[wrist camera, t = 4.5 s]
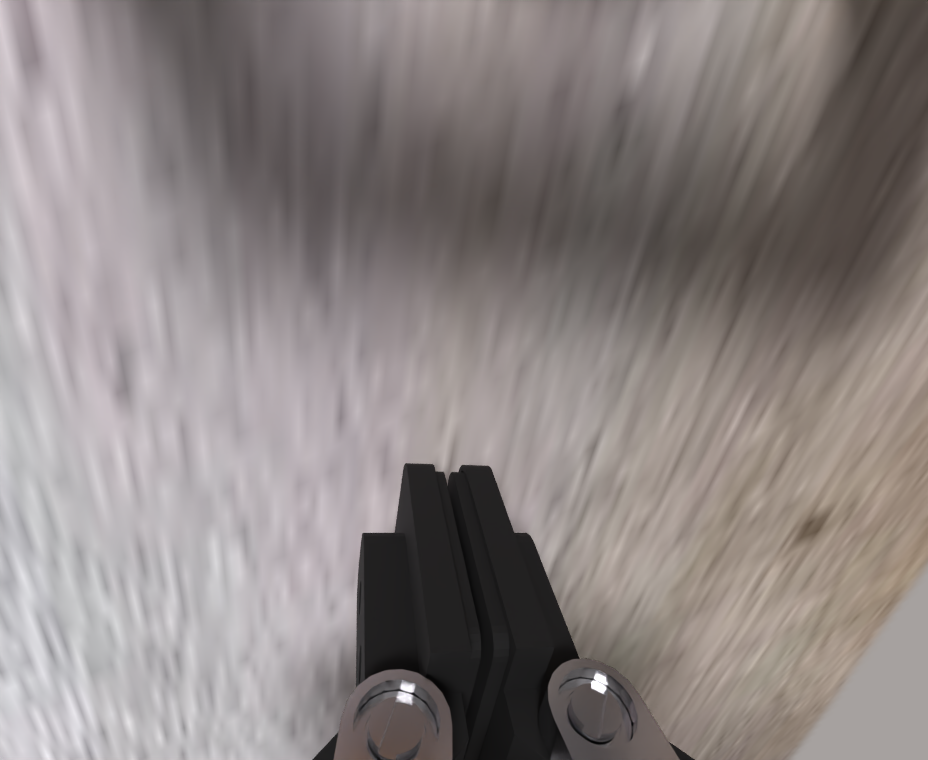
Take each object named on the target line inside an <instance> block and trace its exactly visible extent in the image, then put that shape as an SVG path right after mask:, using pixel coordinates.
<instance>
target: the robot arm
mask: <svg viewBox="0 0 928 760" xmlns="http://www.w3.org/2000/svg"><path fill="white" fill-rule="evenodd" d="M313 760H694V759H693V758H691V757H690V756H688V755H687V754H686V753H684V752H683V751H681V750H680V749H678V748H677V747H676V746H674V745H673V744H671V743H670V742H668V740H667V738H666V737H665V735H664V734H663V732H662V730H661V729H660V727H659V725H658V724H657V722H656V721H655V719H654V717H653V716H652V714H651V712H650V711H649V709H648V708H647V706H646V704H645V703H644V701H643V699H642V698H641V696H640V695H639V693H638V692H637V691H636V689H635V688H634V687H633V685H632V684H631V683H630V682H629V680H628V679H626V678H625V677H624V676H623V675H622V674H620V673H619V672H618V671H617V670H616V669H614V668H612V667H610V666H608V665H606V664H604V663H602V662H599V661H595V660H591V659H587V658H585V659H579V656H578V654H577V651H576V649H575V646H574V643H573V641H572V638H571V636H570V633H569V631H568V628H567V626H566V623H565V621H564V618H563V615H562V613H561V610H560V608H559V605H558V603H557V600H556V598H555V595H554V593H553V590H552V587H551V585H550V582H549V580H548V577H547V575H546V572H545V570H544V567H543V565H542V562H541V560H540V557H539V554H538V552H537V549H536V547H535V544H534V542H533V540H532V538H531V536H530V535H529V534H527V533H514V531H513V528H512V525H511V523H510V520H509V517H508V514H507V511H506V509H505V506H504V503H503V500H502V497H501V495H500V492H499V489H498V486H497V483H496V481H495V478H494V475H493V472H492V470H491V468H490V467H489V466H476V465H462V466H461V467H460V469H459V472H451V474H450V476H449V481H448V487H447V482H446V478H445V474H444V472H435V467H434V465H433V464H408V463H406V464H405V465H404V469H403V476H402V484H401V491H400V498H399V506H398V513H397V520H396V528H395V533H363V534H362V540H361V549H360V559H359V571H358V588H357V651H356V689H355V690H354V691H353V693H352V694H351V695H350V697H349V698H348V700H347V702H346V705H345V708H344V711H343V714H342V717H341V721H340V727H339V732H338V733H337V734H336V735H335V736H334V737H333V738H332V739H331V741H330V742H329V743H328V744H327V745H326V746H325V747H324V748H323V749H322V750H321V751H320V752H319V753H318V754H317V755H316V756H315V758H314V759H313Z"/></svg>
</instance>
